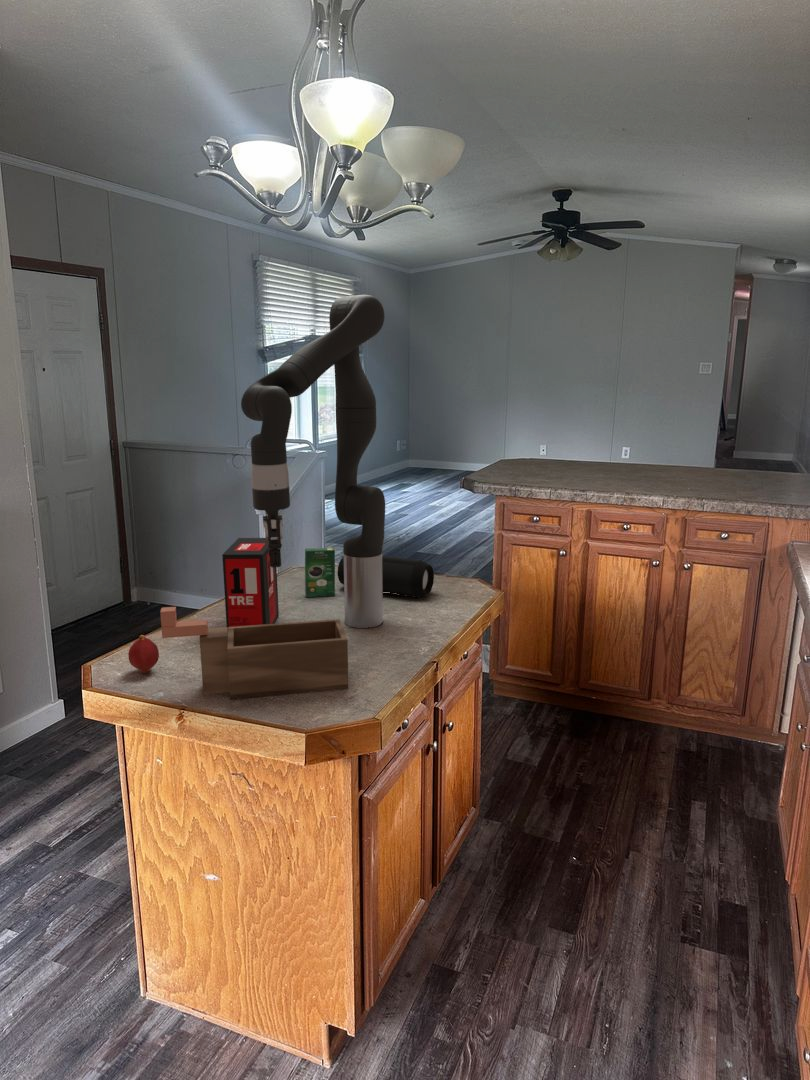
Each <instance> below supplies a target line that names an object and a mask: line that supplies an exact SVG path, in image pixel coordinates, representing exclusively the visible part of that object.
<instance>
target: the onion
mask: <svg viewBox="0 0 810 1080" xmlns="http://www.w3.org/2000/svg"><path fill="white" fill-rule="evenodd" d="M159 658H160V652H159V648H158V646H157V644H156V643H155V642H153V641H152V640H151V639H149V638H147V637H146V636H145V635H144V634H141V635H140V636H139V637H138V639H137V640H136V641H134V642H133V643H132V645H131V646H130V647H129V649H128V661H129V664H130V665H131V666H132V667H133V668H135V669H137V670H138V671H140V672H141V673H143V674H144V673H145V674H146V673H147V672H149V671H150V670H151V669H152V668H153V667H155V665H156V664H157V663H158V662H159Z"/></svg>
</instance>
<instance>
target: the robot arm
mask: <svg viewBox="0 0 810 1080" xmlns="http://www.w3.org/2000/svg"><path fill="white" fill-rule="evenodd" d="M328 318H329V331H328V332H327V333H325V334H322V335H321V336H320V337H318V338H316V339H314V340H312V341H310V342H309V343H307V344H305V345H303V346H302V347H301V348H298V350H296V352H294V353H293V354H292V355H291V356H290V357H289V358H287V359H286V360H285V361H284V362H283V363H282V364H281V365H280V366H279V367H278V368H276V369H275V370H273V371H271V372H269V373H267V374H266V375H264V376H263V377H261V378H259V379H257V380H256V381H255V382H254V383H252V384H251V385H249V387H247V388H246V390H245V391H244V393H243V395H242V397H241V401H240V405H241V406H240V407H241V411H242V413H243V415H245V417H246V418H248V419H250V420H252V421H256V422H262V423H261V428H260V433H258V434H255V435H253V437H252V438H251V440H250V453H251V455H250V456H251V472H250V473H251V476H250V477H251V491H252V492H251V493H252V507H253V508H254V509H255V510H257V511H262V512H263V511H264V512H265V515H262V525H263V528H264V533H265V534H264V536H265V537H264V538H266V540H268V550H269V556H270V566H271V567H277V568H279V567H281V566H282V558H281V557H282V556H281V555H282V554H281V549H282V547H283V545H282V539H283V517H282V516H283V515H282V514H280V515H279V511H280V510H285V509H289V508H290V505H291V494H290V492H291V491H290V477H289V475H290V474H289V469H288V459H287V456H288V455H287V439H288V434H289V429H290V425H291V419H292V412H293V411H292V410H293V409H292V408H293V407H292V401H291V400H292V399H291V398H295V397H299V396H301V395H302V394H303V393H305V392H306V391H308V389H309V388H310V387H311V386H312V385H313V384H314V383H315V382H316V381H317V380H318V379H319V378H320V377H321V376H323V374H324V373H326V372H327V371H328V370H329V369H331V367H334V369H333V370H334V385H335V386H334V387H335V427H336V475H335V488H334V489H335V490H334V494H335V495H334V510H335V514H336V518H337V519H338V521H339V522H341V523H342V524H347V525H356V526H361V527H362V528H361V534H360V535H359V536H355V537H352V538H349V539H347V540H345V541H344V542H343V547H342V550H343V552H342V553H343V556H344V585H343V586H344V587H343V589H344V623H345V624H346V625H347V626H348V627H351V628H357V629H368V627H370V628H375V627H379V626H380V625H381V623H382V622H384V596H383V595H384V593H383V565H382V556H383V546H384V541H385V523H386V522H385V521H386V499H385V495H384V492H383V490H382V489H381V488H380V487H377V486H372V485H371V486H369V485H359V484H358V469H359V465H360V461H361V459H362V457H363V455H364V454H365V452H366V450H367V448H368V446H369V445H370V443H371V441H372V439H373V437H374V435H375V433H376V430H377V400H376V396H375V392H374V390H373V388H372V385H371V384H370V382H369V380H368V378H367V375H366V374H365V370H363V366H362V362H361V358H360V346H361V345H362V344H365V343H366V342H367V341H369V340H370V339H372V338H373V337H375V336H376V335H377V334H378V333H379V332H380V331H381V330H382V328H383V325H384V322H385V310H384V307H383V304H382V302H381V301H380V300H379V299H378V298H377V297H375V296H373V295H370V294H356V295H355V294H354V295H347V296H346V295H345V296H340V297H337V298H336V299H335V300H334V301H333V302H332V304H331V307H330V309H329V317H328ZM333 365H334V366H333ZM382 624H383V623H382Z"/></svg>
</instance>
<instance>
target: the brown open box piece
mask: <svg viewBox="0 0 810 1080" xmlns="http://www.w3.org/2000/svg"><path fill="white" fill-rule="evenodd" d="M342 625H343V624H342V622H341V620H340V619H339V618H335V619H321V620H309V621H308V620H307V621H294V622H292V621H291V622H279V623H278V622H277V623H275V624H264V625H250V626H236V627H227V626H225V627H213V628H211V627H210V628H208V633H207V635H199V651H200V665H201V680H202V691H203V693H202V694H203V695H210V694H211V695H213V694H214V695H215V694H224V693H229V698H230V701H233V700H234V701H235V700H245V699H254V698H265V697H276V696H278V697H279V696H286V695H296V694H299V695H300V694H309V693H318V692H328V691H329V692H330V691H342V690H349V660H348V659H349V648H348V647H349V645H348V644H349V643H348V637H347V634H346V632H345V630H344V627H343V626H342Z"/></svg>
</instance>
